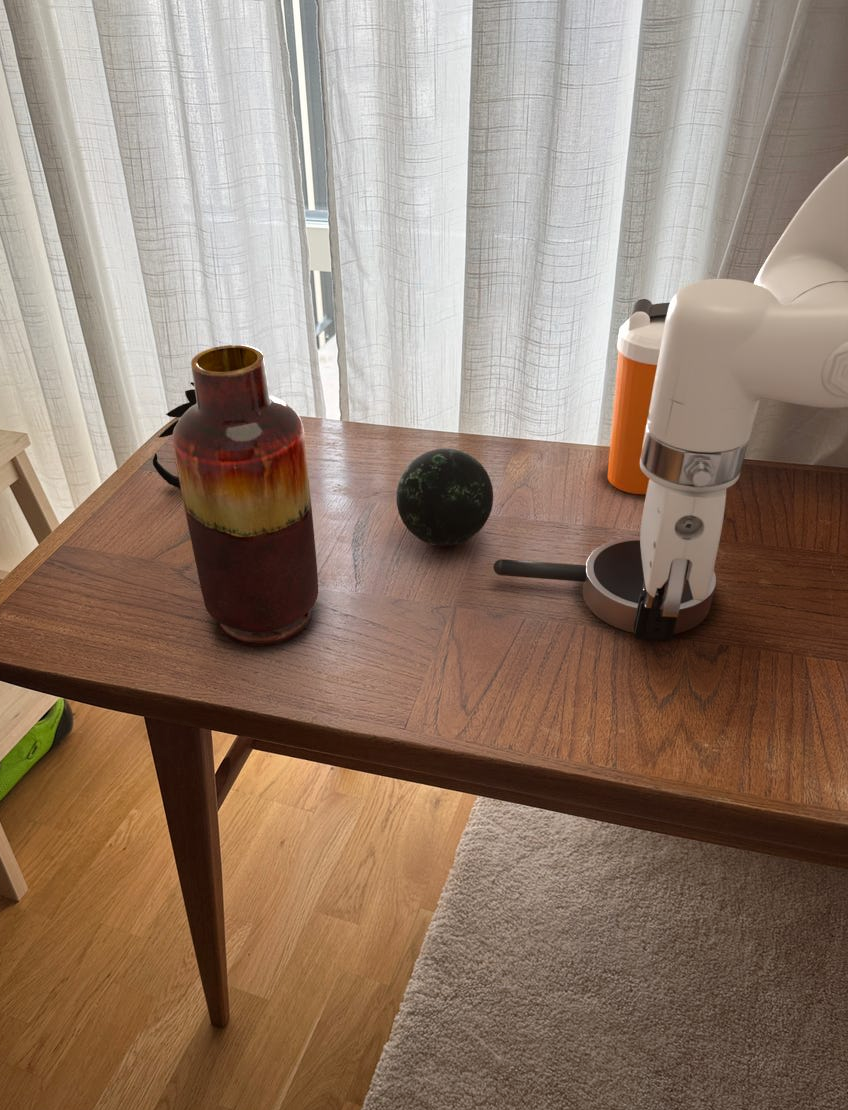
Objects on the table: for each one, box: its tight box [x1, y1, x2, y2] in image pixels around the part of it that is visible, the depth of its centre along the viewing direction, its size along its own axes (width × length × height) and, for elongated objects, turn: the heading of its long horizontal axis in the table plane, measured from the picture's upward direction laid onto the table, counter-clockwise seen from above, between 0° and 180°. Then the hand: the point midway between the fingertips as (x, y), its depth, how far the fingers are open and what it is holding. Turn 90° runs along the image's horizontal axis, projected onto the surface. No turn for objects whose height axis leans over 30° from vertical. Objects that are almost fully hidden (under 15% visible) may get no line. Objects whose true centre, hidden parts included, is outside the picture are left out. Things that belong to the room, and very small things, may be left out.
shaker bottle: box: [607, 298, 670, 495], centre depth 100 cm, size 9×9×20 cm
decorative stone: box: [395, 447, 494, 547], centre depth 95 cm, size 10×10×10 cm
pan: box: [493, 536, 717, 635], centre depth 89 cm, size 21×12×3 cm, turn 79°
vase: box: [171, 344, 319, 647], centre depth 81 cm, size 11×11×26 cm
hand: (651, 634), depth 82 cm, fingers closed
